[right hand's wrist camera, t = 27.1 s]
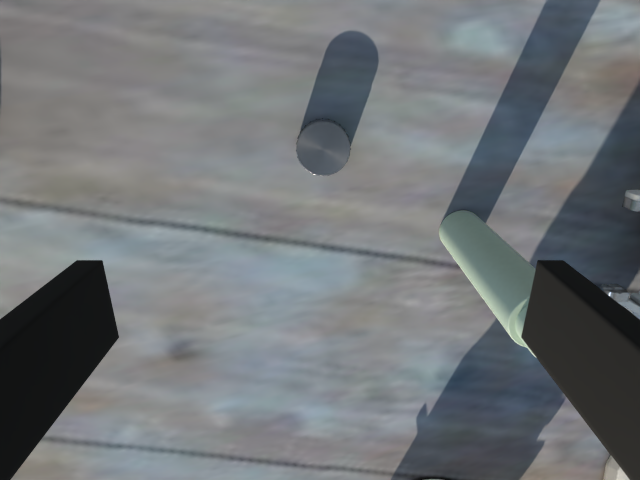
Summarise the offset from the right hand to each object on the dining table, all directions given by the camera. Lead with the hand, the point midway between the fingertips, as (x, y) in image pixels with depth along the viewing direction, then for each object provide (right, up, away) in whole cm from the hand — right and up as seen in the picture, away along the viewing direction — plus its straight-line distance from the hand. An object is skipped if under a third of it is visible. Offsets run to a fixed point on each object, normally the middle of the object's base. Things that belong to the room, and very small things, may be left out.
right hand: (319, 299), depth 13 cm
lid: (0, +10, +26) cm, 28 cm away
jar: (+15, +3, +31) cm, 35 cm away
